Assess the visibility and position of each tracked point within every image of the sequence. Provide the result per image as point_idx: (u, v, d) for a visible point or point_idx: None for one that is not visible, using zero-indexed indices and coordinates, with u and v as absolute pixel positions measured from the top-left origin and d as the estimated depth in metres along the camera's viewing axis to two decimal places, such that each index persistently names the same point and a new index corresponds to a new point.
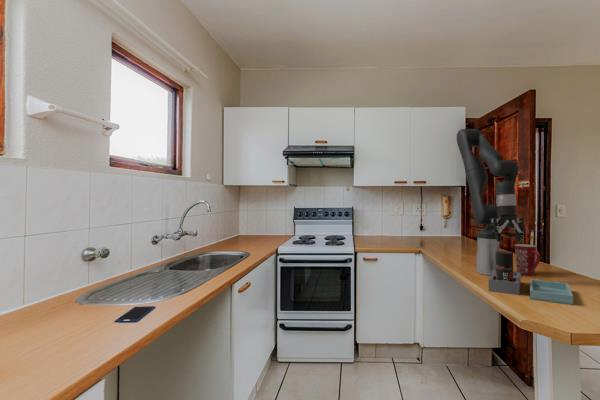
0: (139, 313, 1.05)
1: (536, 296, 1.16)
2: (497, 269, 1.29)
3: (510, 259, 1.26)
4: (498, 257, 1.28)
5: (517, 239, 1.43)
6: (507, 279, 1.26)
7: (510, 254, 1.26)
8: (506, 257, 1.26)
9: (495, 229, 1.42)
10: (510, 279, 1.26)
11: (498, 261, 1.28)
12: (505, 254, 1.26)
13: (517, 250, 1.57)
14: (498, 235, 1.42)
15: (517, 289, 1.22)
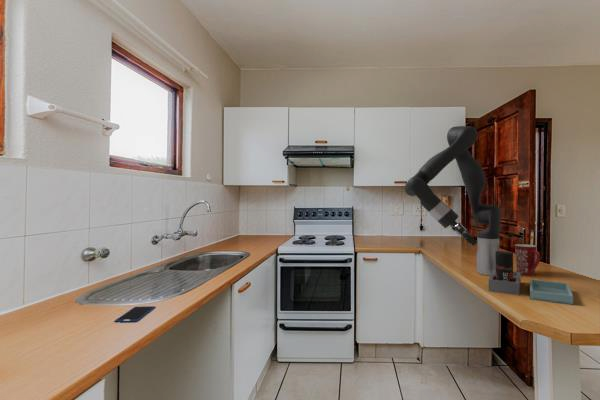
0: (139, 313, 1.05)
1: (536, 296, 1.16)
2: (497, 269, 1.29)
3: (510, 259, 1.26)
4: (498, 257, 1.28)
5: None
6: (507, 279, 1.26)
7: (510, 254, 1.26)
8: (506, 257, 1.26)
9: None
10: (510, 279, 1.26)
11: (498, 261, 1.28)
12: (505, 254, 1.26)
13: (517, 250, 1.57)
14: None
15: (517, 289, 1.22)
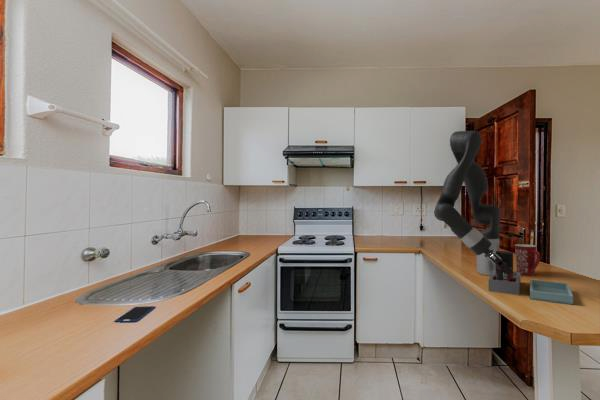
0: (139, 313, 1.05)
1: (536, 296, 1.16)
2: (497, 269, 1.29)
3: (510, 259, 1.26)
4: None
5: None
6: (507, 279, 1.26)
7: (510, 254, 1.26)
8: (506, 257, 1.26)
9: None
10: (510, 279, 1.26)
11: None
12: (505, 254, 1.26)
13: (517, 250, 1.57)
14: None
15: (517, 289, 1.22)
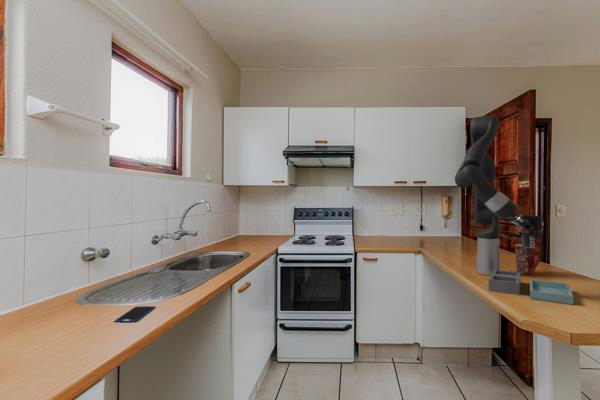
0: (139, 313, 1.05)
1: (536, 296, 1.16)
2: (523, 233, 1.24)
3: (538, 222, 1.21)
4: None
5: None
6: (535, 243, 1.21)
7: (538, 217, 1.21)
8: (533, 220, 1.21)
9: (518, 226, 1.30)
10: (537, 243, 1.21)
11: None
12: (532, 217, 1.22)
13: (517, 250, 1.57)
14: None
15: (517, 289, 1.22)
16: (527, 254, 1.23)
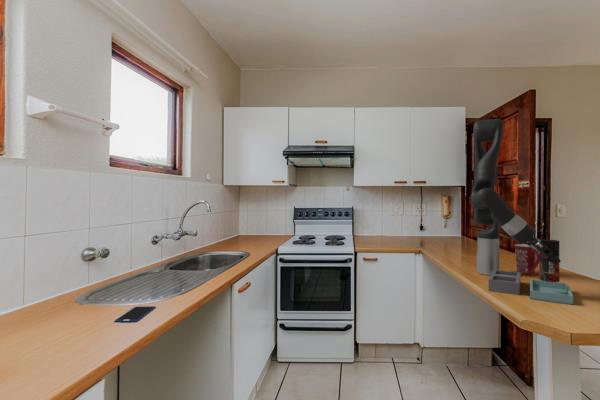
0: (139, 313, 1.05)
1: (536, 296, 1.16)
2: (542, 258, 1.21)
3: (557, 247, 1.19)
4: None
5: None
6: (554, 269, 1.19)
7: (557, 242, 1.19)
8: (552, 245, 1.19)
9: (534, 250, 1.28)
10: (556, 268, 1.19)
11: None
12: (551, 242, 1.19)
13: (517, 250, 1.57)
14: None
15: (517, 289, 1.22)
16: (546, 280, 1.20)
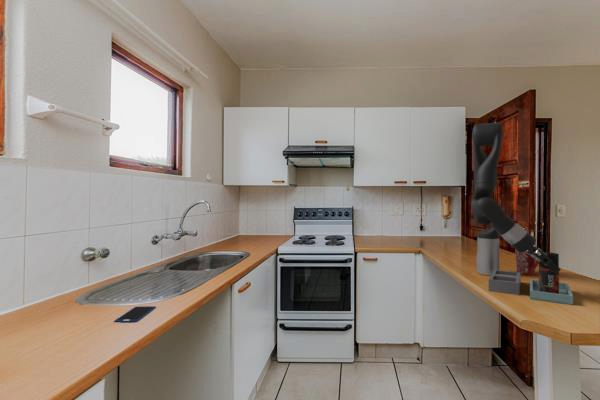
0: (139, 313, 1.05)
1: (536, 296, 1.16)
2: (541, 271, 1.22)
3: (556, 260, 1.19)
4: None
5: None
6: (553, 282, 1.19)
7: (556, 255, 1.19)
8: (551, 258, 1.19)
9: None
10: (556, 282, 1.19)
11: (542, 263, 1.21)
12: (551, 255, 1.19)
13: None
14: None
15: (517, 289, 1.22)
16: None
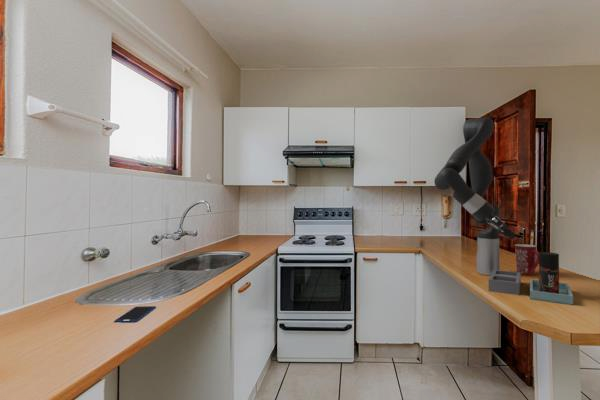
0: (139, 313, 1.05)
1: (536, 296, 1.16)
2: (541, 271, 1.22)
3: (556, 261, 1.19)
4: (543, 258, 1.21)
5: None
6: (553, 282, 1.19)
7: (556, 255, 1.19)
8: (552, 258, 1.19)
9: None
10: (556, 282, 1.19)
11: (543, 263, 1.21)
12: (551, 255, 1.19)
13: (517, 250, 1.57)
14: None
15: (517, 289, 1.22)
16: None
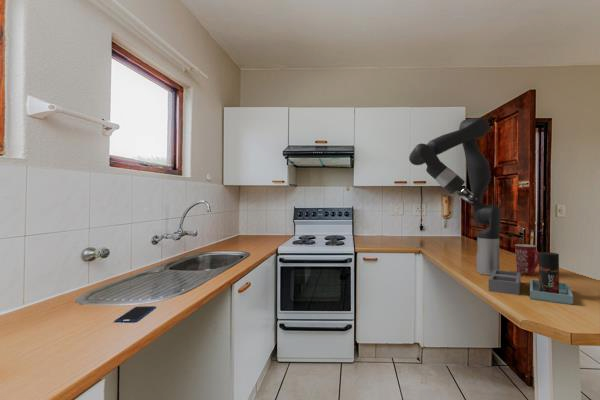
0: (139, 313, 1.05)
1: (536, 296, 1.16)
2: (541, 271, 1.22)
3: (556, 261, 1.19)
4: (543, 258, 1.21)
5: None
6: (553, 282, 1.19)
7: (556, 255, 1.19)
8: (552, 258, 1.19)
9: (465, 200, 1.40)
10: (556, 282, 1.19)
11: (543, 263, 1.21)
12: (551, 255, 1.19)
13: (517, 250, 1.57)
14: None
15: (517, 289, 1.22)
16: None
